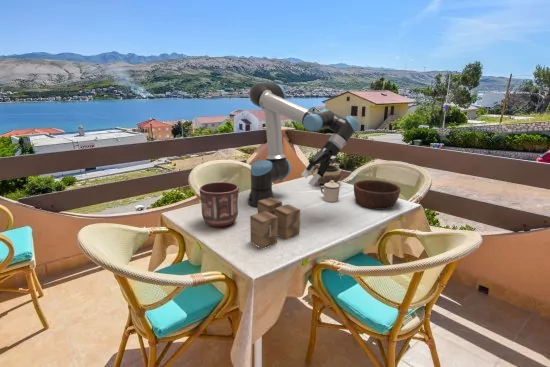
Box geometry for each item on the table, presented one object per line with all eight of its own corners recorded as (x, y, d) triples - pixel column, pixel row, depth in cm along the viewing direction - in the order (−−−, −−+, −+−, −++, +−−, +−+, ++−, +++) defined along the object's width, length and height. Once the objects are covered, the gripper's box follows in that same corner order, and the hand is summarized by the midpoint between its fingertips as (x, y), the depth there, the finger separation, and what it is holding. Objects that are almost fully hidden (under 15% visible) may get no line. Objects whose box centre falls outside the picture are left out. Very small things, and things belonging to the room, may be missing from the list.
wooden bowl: (405, 202, 181) (407, 185, 178) (387, 215, 163) (389, 196, 160) (364, 193, 197) (366, 177, 194) (344, 203, 179) (345, 186, 176)
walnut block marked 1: (262, 249, 127) (262, 222, 124) (250, 241, 133) (250, 215, 130) (277, 243, 132) (278, 216, 129) (265, 236, 138) (265, 211, 135)
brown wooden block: (286, 239, 136) (286, 213, 132) (274, 233, 141) (274, 208, 138) (299, 234, 141) (300, 209, 137) (287, 228, 146) (287, 204, 143)
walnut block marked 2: (268, 230, 144) (268, 205, 141) (257, 224, 150) (257, 200, 147) (281, 225, 149) (282, 201, 146) (270, 220, 155) (270, 197, 152)
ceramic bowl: (318, 195, 200) (323, 174, 193) (302, 181, 212) (306, 161, 205) (346, 189, 213) (352, 169, 206) (329, 176, 225) (334, 157, 218)
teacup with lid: (341, 199, 184) (343, 180, 181) (333, 203, 178) (334, 184, 174) (324, 195, 192) (325, 176, 189) (315, 198, 185) (316, 179, 182)
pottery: (217, 234, 139) (215, 196, 134) (194, 223, 151) (192, 187, 146) (246, 222, 152) (246, 187, 147) (223, 213, 163) (222, 179, 158)
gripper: (336, 138, 137) (306, 177, 136) (344, 158, 159) (318, 192, 159) (322, 130, 140) (293, 168, 139) (332, 151, 162) (307, 184, 162)
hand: (307, 181), depth 149 cm, fingers open, 13 cm apart
